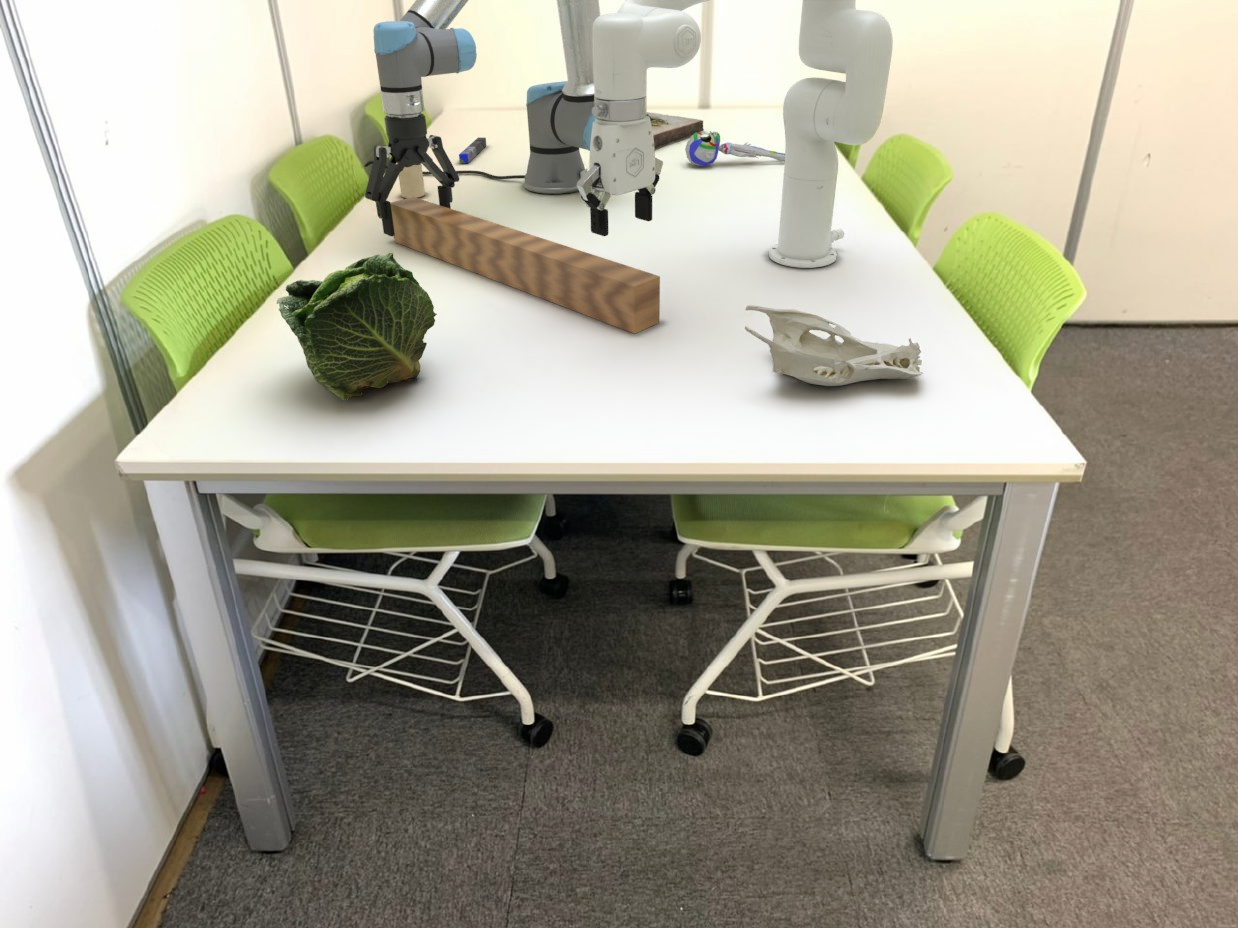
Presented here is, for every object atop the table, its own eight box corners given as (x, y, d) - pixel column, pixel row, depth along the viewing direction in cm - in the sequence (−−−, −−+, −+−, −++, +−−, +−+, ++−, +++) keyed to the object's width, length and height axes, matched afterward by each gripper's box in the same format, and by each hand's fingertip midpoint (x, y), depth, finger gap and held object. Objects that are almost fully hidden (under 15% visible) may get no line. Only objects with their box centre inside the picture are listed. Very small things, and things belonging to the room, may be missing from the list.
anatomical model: (746, 295, 131) (922, 298, 128) (744, 352, 136) (913, 356, 133) (742, 338, 119) (937, 342, 115) (741, 399, 124) (927, 405, 120)
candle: (429, 193, 211) (424, 149, 206) (417, 199, 207) (411, 154, 201) (409, 191, 213) (403, 147, 207) (396, 197, 208) (390, 153, 203)
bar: (394, 242, 182) (388, 203, 177) (418, 235, 185) (413, 196, 181) (634, 334, 142) (634, 286, 137) (659, 323, 145) (660, 276, 141)
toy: (809, 146, 225) (693, 132, 220) (801, 180, 229) (687, 167, 224) (798, 137, 233) (686, 124, 229) (791, 170, 238) (681, 158, 233)
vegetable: (353, 408, 136) (266, 297, 128) (458, 337, 138) (379, 222, 130) (352, 443, 118) (251, 316, 110) (474, 360, 119) (382, 229, 111)
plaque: (647, 125, 237) (559, 112, 252) (647, 153, 241) (560, 139, 256) (706, 107, 258) (622, 97, 273) (705, 133, 262) (622, 121, 277)
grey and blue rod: (485, 137, 250) (466, 155, 233) (486, 145, 251) (467, 163, 234) (478, 137, 250) (458, 155, 233) (478, 145, 251) (459, 163, 234)
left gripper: (356, 127, 157) (374, 245, 168) (470, 107, 172) (480, 217, 183) (334, 121, 162) (353, 237, 173) (446, 102, 177) (457, 210, 188)
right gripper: (596, 123, 122) (599, 245, 131) (679, 104, 132) (677, 219, 141) (558, 115, 126) (564, 234, 135) (642, 97, 137) (642, 209, 146)
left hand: (418, 227), depth 178 cm, fingers open, 13 cm apart
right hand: (622, 226), depth 138 cm, fingers open, 9 cm apart
